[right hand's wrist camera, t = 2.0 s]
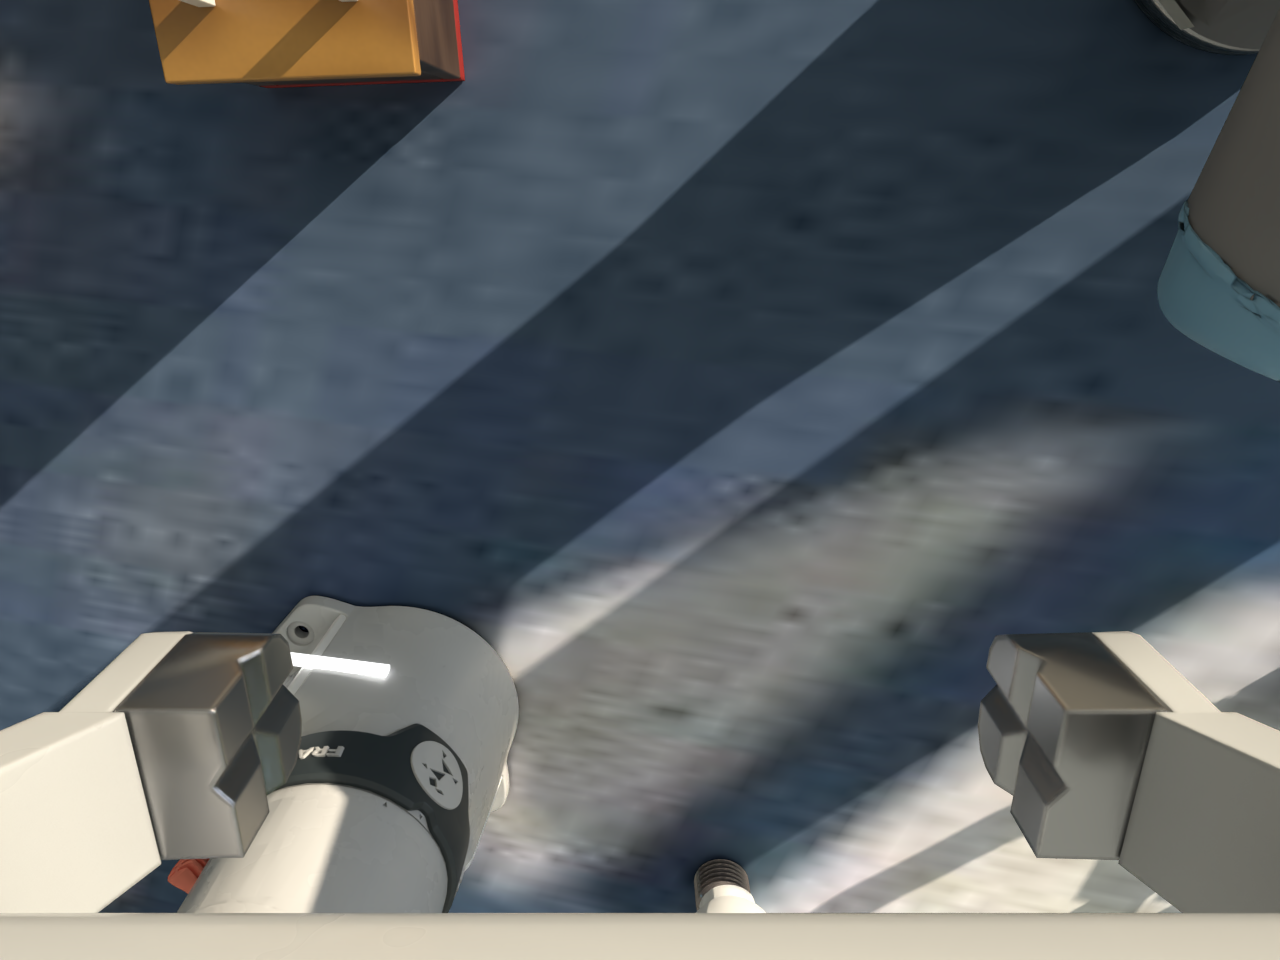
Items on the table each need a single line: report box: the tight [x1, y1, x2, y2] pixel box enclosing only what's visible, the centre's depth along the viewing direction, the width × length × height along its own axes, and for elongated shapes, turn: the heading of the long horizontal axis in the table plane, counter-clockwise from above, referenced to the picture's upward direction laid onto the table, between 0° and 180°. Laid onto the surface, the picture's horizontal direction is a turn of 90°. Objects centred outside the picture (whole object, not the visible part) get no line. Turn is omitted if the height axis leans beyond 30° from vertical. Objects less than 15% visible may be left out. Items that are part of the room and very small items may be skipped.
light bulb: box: [694, 859, 766, 913], centre depth 55 cm, size 7×7×11 cm
